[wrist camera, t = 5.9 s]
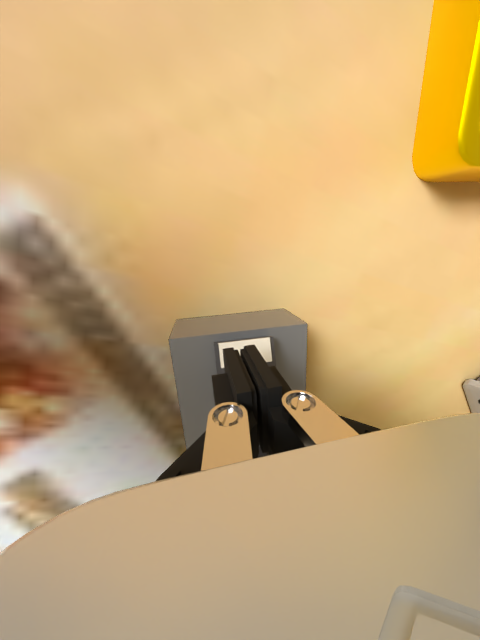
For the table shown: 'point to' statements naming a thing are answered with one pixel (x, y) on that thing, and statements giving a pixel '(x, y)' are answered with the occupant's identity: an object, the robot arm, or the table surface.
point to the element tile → (450, 96)
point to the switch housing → (199, 361)
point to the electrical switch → (473, 394)
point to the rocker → (261, 343)
